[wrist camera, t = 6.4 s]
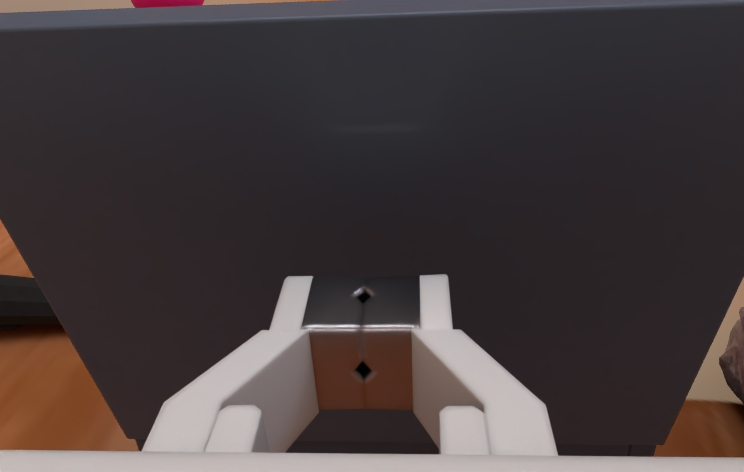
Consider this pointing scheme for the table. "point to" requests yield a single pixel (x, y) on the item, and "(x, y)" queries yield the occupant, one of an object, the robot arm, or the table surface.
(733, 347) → the geode
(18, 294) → the microphone
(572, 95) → the lid
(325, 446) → the case
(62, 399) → the table surface
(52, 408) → the table surface
